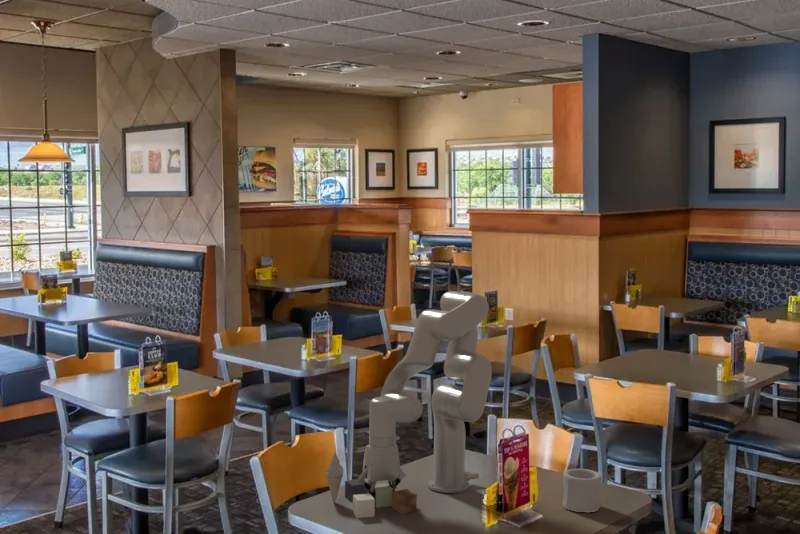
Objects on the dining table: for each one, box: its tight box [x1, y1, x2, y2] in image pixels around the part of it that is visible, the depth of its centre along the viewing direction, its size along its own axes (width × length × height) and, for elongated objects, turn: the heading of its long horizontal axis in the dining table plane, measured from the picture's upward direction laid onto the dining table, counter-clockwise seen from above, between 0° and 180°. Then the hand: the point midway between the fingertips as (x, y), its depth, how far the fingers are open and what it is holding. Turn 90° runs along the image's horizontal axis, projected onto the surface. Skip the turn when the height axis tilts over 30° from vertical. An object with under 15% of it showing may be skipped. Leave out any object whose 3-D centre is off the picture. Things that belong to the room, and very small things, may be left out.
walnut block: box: [391, 488, 418, 515], centre depth 252 cm, size 5×5×5 cm
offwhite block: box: [352, 494, 376, 519], centre depth 248 cm, size 5×5×5 cm
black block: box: [344, 478, 368, 503], centre depth 261 cm, size 5×5×5 cm
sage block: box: [374, 483, 393, 508], centre depth 256 cm, size 5×5×5 cm
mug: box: [561, 468, 602, 512], centre depth 257 cm, size 14×11×10 cm
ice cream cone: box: [325, 451, 344, 504], centre depth 256 cm, size 5×5×15 cm
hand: (381, 502), depth 256 cm, fingers closed on sage block, 5 cm apart
